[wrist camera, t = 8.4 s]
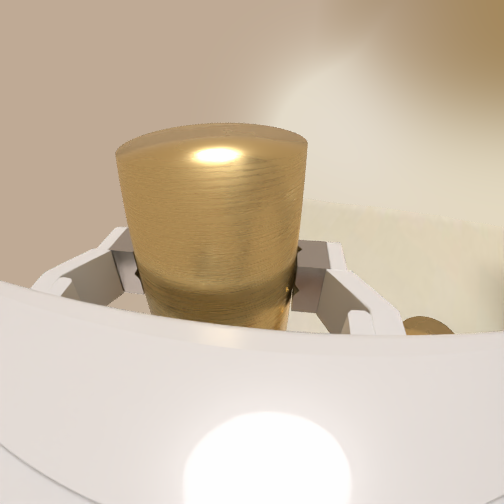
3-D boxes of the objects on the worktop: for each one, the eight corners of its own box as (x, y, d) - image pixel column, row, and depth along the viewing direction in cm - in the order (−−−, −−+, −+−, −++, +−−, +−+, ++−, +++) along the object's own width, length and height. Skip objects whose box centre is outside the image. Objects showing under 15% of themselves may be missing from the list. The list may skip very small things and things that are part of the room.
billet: (280, 343, 15) (303, 126, 9) (273, 427, 11) (315, 173, 5) (190, 333, 16) (161, 124, 10) (164, 410, 12) (76, 171, 5)
